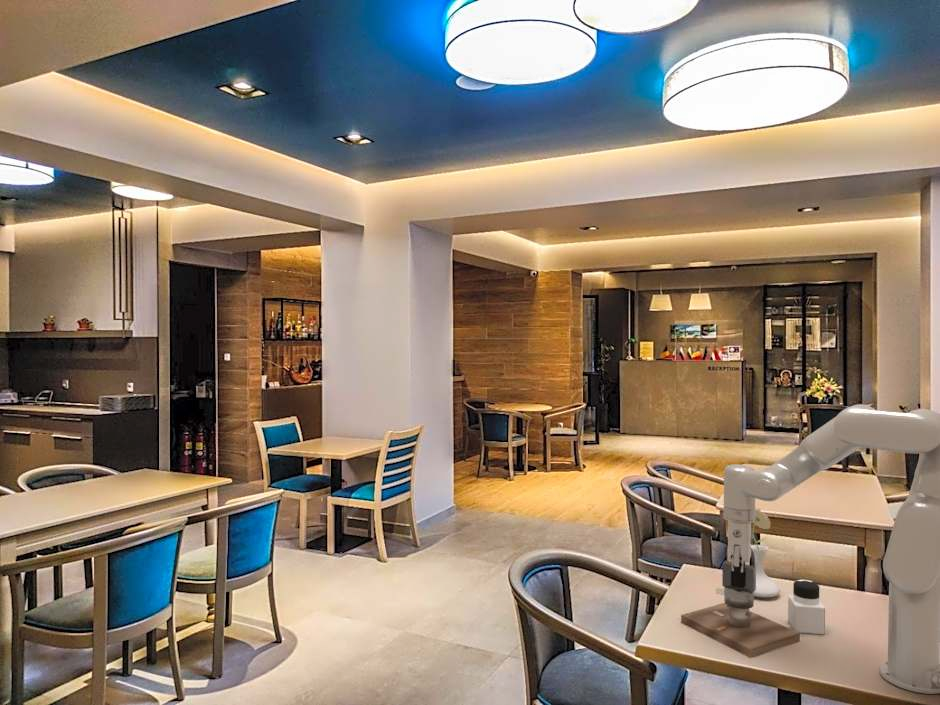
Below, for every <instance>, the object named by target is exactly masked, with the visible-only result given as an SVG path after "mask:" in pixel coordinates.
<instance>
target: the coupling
mask: <svg viewBox="0 0 940 705" xmlns="http://www.w3.org/2000/svg"><path fill="white" fill-rule="evenodd" d="M739 564H740V563H739ZM731 570H732V561H731V560H724V561H723V562H722V575H721V576H722V583H721V584H722V587H724V588H719V587H716V588H715V594H717V595H721V596H723V598H724V600H723V601H724V602H723V603H725V604H727V605H728V606H731V607H734V608H739V609H749V610H750V609H751V608H753V607H754V602H755V600H754V597H755V596H754V591H755V590H756V567H755V565H749V564H746V563H745V564H744V570H743V572H745V583H744V588H739V587H733V586H731Z"/></svg>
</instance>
